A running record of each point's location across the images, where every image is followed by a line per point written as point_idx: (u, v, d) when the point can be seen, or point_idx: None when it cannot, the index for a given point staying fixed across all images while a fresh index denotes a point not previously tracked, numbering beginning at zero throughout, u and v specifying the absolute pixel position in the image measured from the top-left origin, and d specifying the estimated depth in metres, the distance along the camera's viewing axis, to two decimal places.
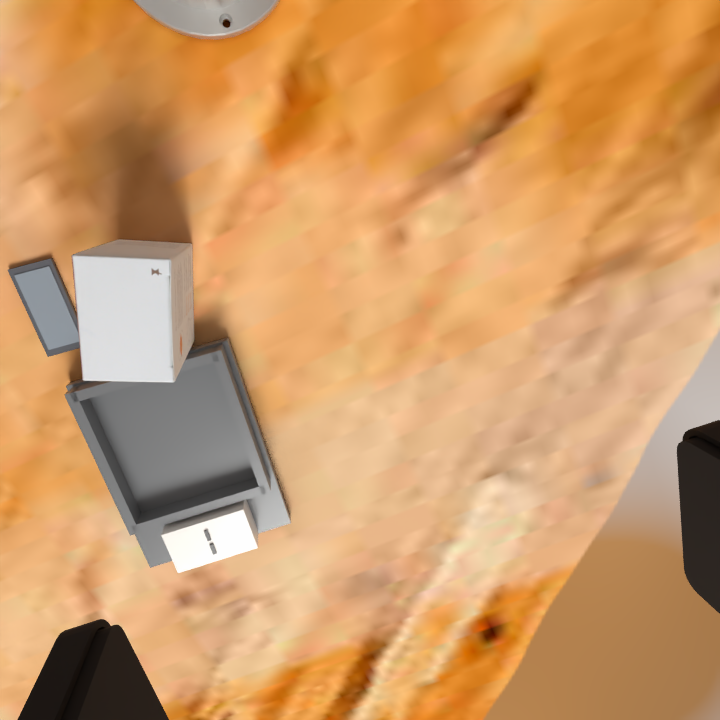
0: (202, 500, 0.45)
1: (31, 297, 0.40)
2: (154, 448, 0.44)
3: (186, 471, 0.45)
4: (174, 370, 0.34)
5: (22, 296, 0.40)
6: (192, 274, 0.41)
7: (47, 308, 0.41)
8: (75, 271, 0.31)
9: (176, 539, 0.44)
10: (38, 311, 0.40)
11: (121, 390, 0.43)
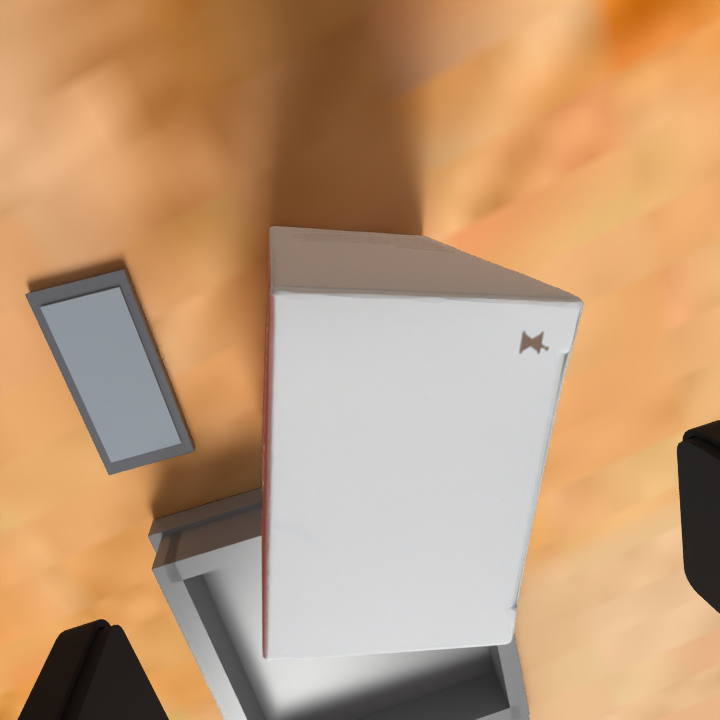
0: None
1: (77, 354, 0.18)
2: None
3: (366, 673, 0.24)
4: None
5: (58, 352, 0.18)
6: None
7: (111, 377, 0.18)
8: (280, 345, 0.09)
9: None
10: (93, 385, 0.18)
11: None
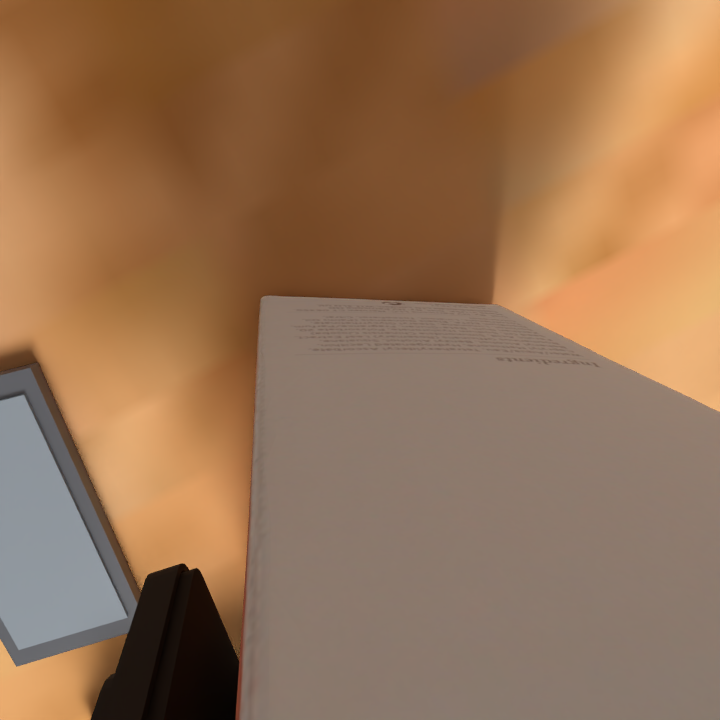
0: None
1: None
2: None
3: None
4: None
5: None
6: None
7: (15, 528, 0.12)
8: None
9: None
10: None
11: None
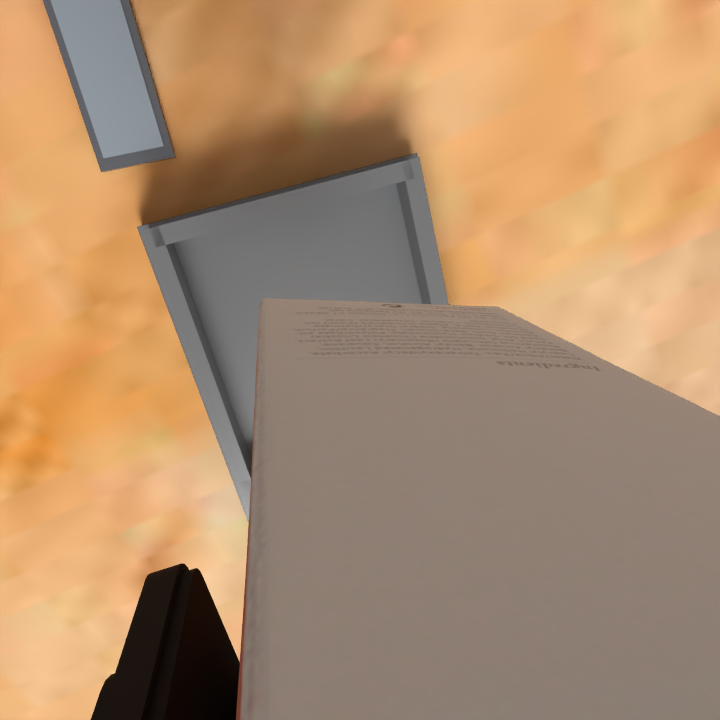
0: None
1: (78, 49, 0.22)
2: None
3: None
4: None
5: (63, 45, 0.22)
6: None
7: (106, 75, 0.22)
8: None
9: None
10: (91, 80, 0.22)
11: (232, 239, 0.24)
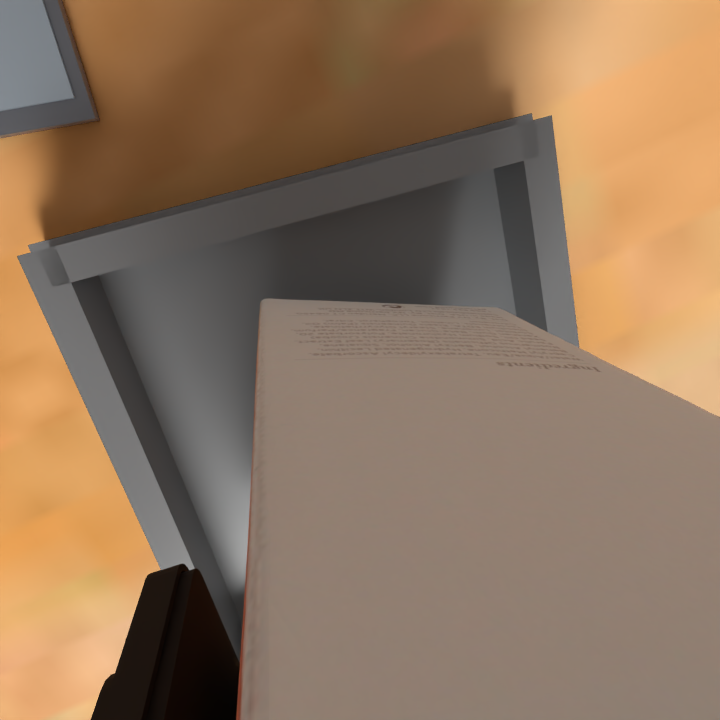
0: None
1: None
2: None
3: None
4: None
5: None
6: None
7: None
8: None
9: None
10: None
11: (204, 266, 0.14)
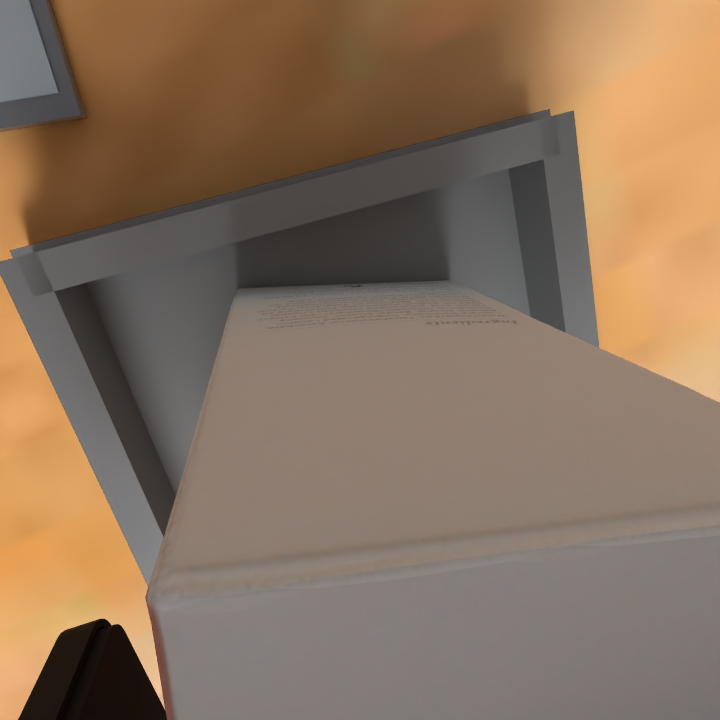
0: None
1: None
2: None
3: None
4: None
5: None
6: None
7: None
8: (191, 715, 0.03)
9: None
10: None
11: (200, 273, 0.13)
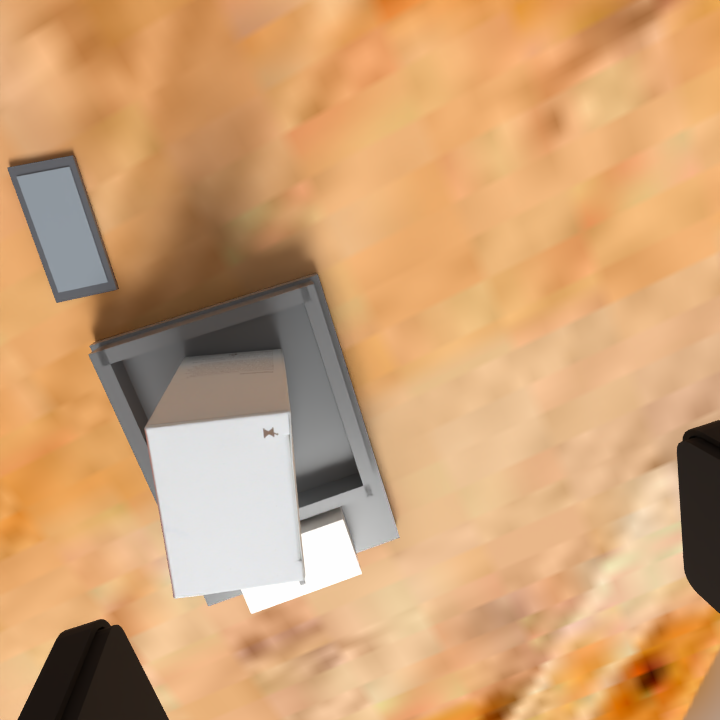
0: None
1: (39, 211, 0.27)
2: None
3: None
4: (303, 562, 0.23)
5: (26, 209, 0.27)
6: None
7: (61, 230, 0.28)
8: (152, 449, 0.20)
9: None
10: (48, 234, 0.28)
11: (168, 350, 0.30)
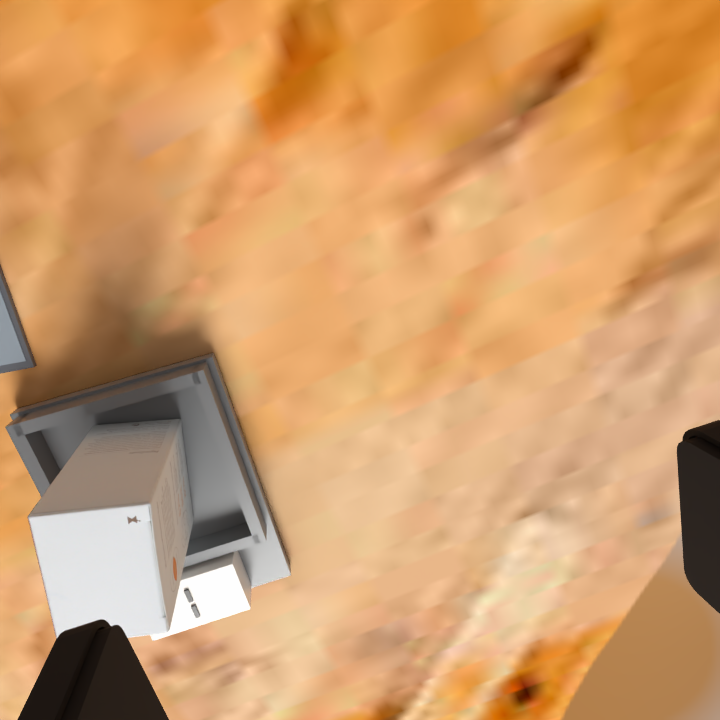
0: None
1: None
2: None
3: None
4: (168, 618, 0.28)
5: None
6: (184, 453, 0.35)
7: None
8: (34, 533, 0.25)
9: None
10: None
11: (80, 419, 0.34)
